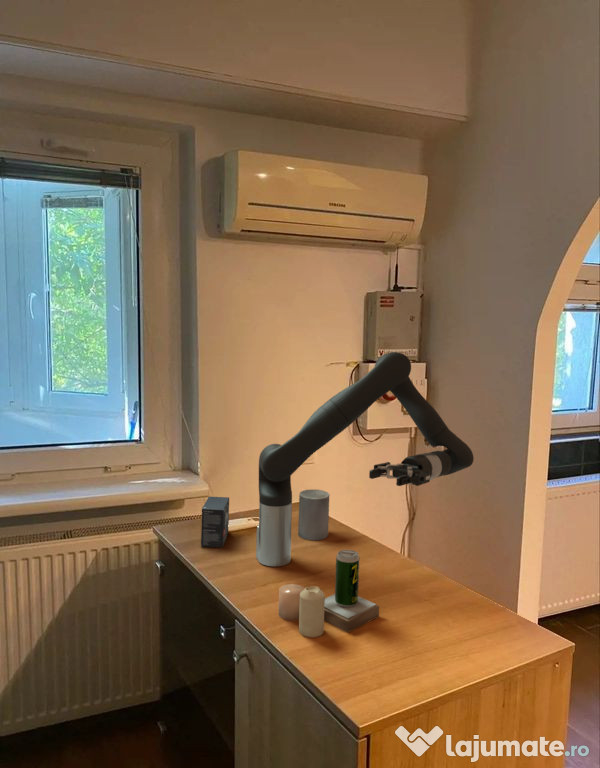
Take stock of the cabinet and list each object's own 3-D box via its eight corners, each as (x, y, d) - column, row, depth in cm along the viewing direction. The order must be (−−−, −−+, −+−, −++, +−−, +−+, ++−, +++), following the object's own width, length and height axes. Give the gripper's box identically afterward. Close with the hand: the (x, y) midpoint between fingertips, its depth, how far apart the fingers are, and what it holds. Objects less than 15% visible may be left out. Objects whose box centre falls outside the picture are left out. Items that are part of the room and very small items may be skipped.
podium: (312, 614, 144) (312, 602, 143) (343, 600, 151) (344, 588, 151) (347, 632, 136) (348, 619, 136) (378, 616, 144) (379, 604, 143)
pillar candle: (296, 529, 200) (297, 485, 198) (326, 529, 201) (327, 485, 199) (299, 541, 190) (300, 494, 189) (330, 540, 191) (332, 494, 190)
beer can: (332, 606, 142) (333, 556, 140) (337, 596, 147) (339, 548, 145) (354, 610, 140) (356, 559, 139) (359, 600, 145) (361, 551, 144)
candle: (315, 640, 132) (316, 596, 131) (294, 632, 135) (295, 589, 134) (328, 629, 137) (329, 587, 136) (307, 622, 140) (308, 580, 139)
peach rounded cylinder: (273, 613, 144) (273, 589, 143) (291, 605, 148) (292, 581, 147) (290, 623, 139) (291, 598, 139) (309, 614, 144) (310, 590, 143)
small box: (223, 548, 183) (223, 509, 182) (200, 547, 183) (200, 508, 182) (229, 532, 196) (229, 496, 195) (207, 532, 196) (208, 495, 195)
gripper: (400, 449, 168) (362, 458, 157) (445, 459, 158) (408, 469, 147) (399, 476, 169) (361, 486, 158) (443, 487, 159) (406, 499, 148)
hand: (383, 478), depth 152 cm, fingers open, 8 cm apart
